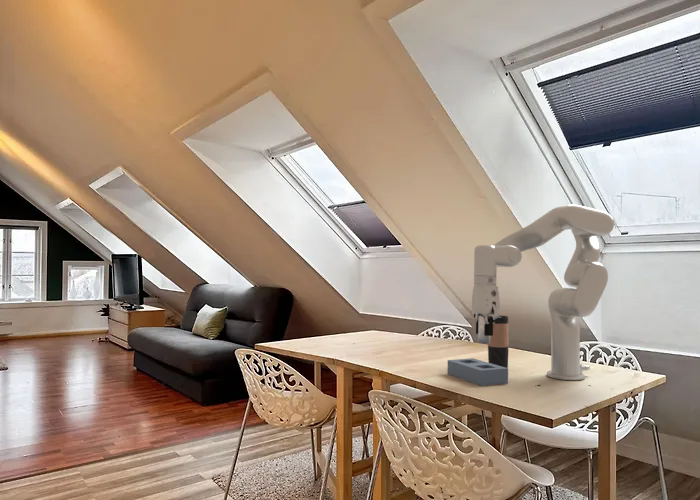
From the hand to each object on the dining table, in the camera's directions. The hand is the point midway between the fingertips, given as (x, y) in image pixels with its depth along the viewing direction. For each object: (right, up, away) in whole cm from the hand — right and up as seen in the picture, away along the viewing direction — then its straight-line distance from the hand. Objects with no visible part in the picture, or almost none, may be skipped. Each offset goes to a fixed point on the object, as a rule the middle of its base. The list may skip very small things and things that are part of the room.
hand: (484, 334), depth 181 cm
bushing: (0, -3, 0) cm, 3 cm away
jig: (-2, -16, +4) cm, 17 cm away
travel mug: (+11, -17, +22) cm, 30 cm away
